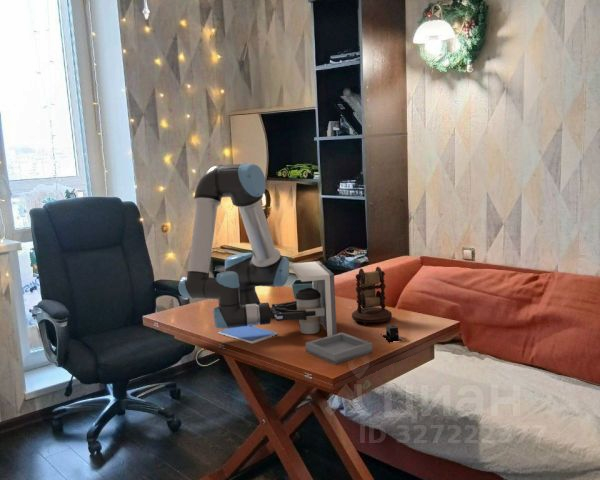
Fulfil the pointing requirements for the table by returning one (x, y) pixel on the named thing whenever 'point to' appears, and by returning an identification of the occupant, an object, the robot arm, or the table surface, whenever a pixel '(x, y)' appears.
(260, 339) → the blue piece
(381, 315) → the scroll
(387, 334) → the black angled block
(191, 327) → the table surface
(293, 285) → the flower pot
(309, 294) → the coffee cup
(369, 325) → the table surface
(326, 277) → the cubby
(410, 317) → the table surface
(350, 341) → the tray
